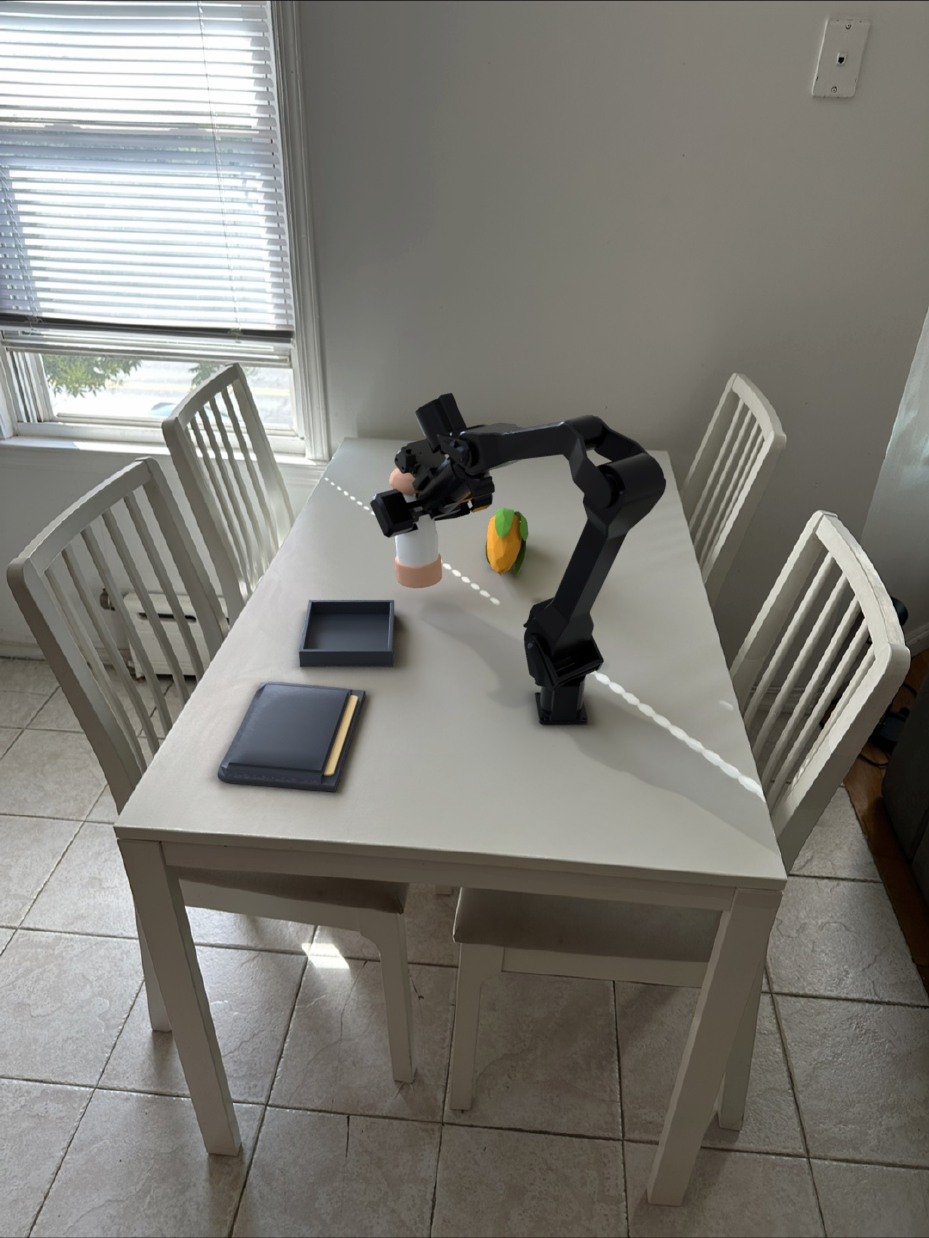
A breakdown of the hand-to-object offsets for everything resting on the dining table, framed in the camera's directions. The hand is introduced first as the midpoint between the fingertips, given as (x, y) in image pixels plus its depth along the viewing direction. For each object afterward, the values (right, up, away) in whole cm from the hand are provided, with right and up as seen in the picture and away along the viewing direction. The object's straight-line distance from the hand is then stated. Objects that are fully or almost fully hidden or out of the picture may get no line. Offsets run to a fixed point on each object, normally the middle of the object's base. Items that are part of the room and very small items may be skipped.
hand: (411, 523), depth 142 cm
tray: (-9, -18, -4) cm, 20 cm away
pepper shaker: (+1, -8, +4) cm, 9 cm away
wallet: (-14, -30, -23) cm, 40 cm away
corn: (+15, -5, +18) cm, 24 cm away
